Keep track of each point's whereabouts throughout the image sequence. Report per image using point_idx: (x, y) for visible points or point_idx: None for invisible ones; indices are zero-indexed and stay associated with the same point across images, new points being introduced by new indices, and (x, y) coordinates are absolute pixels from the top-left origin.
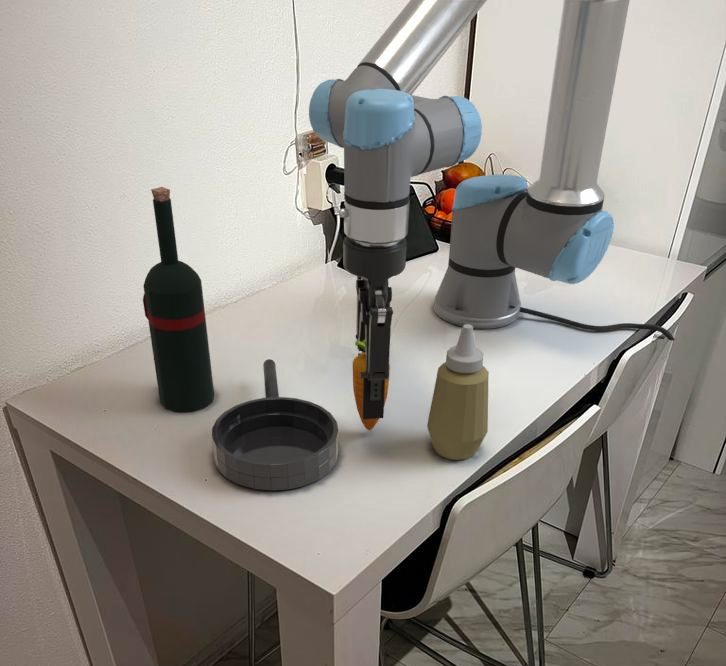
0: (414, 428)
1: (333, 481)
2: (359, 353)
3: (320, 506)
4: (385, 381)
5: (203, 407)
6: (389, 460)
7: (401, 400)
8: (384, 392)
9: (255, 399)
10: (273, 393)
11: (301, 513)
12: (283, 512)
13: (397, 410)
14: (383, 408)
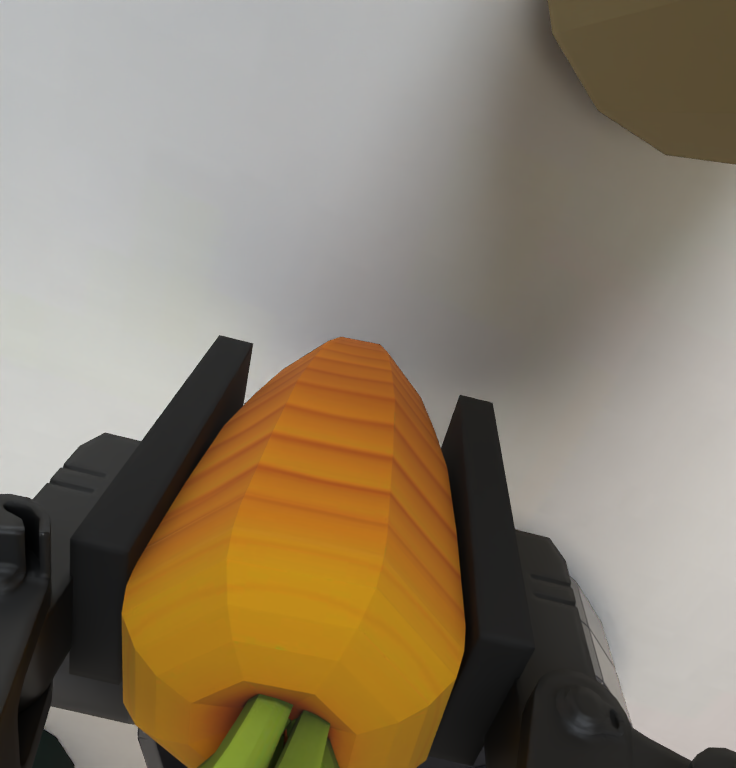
0: (393, 95)
1: (622, 575)
2: (69, 664)
3: (729, 649)
4: (422, 504)
5: (54, 742)
6: (607, 344)
7: (75, 35)
8: (510, 517)
9: (146, 762)
10: (111, 710)
11: (726, 697)
12: (688, 728)
13: (183, 111)
14: (497, 441)
